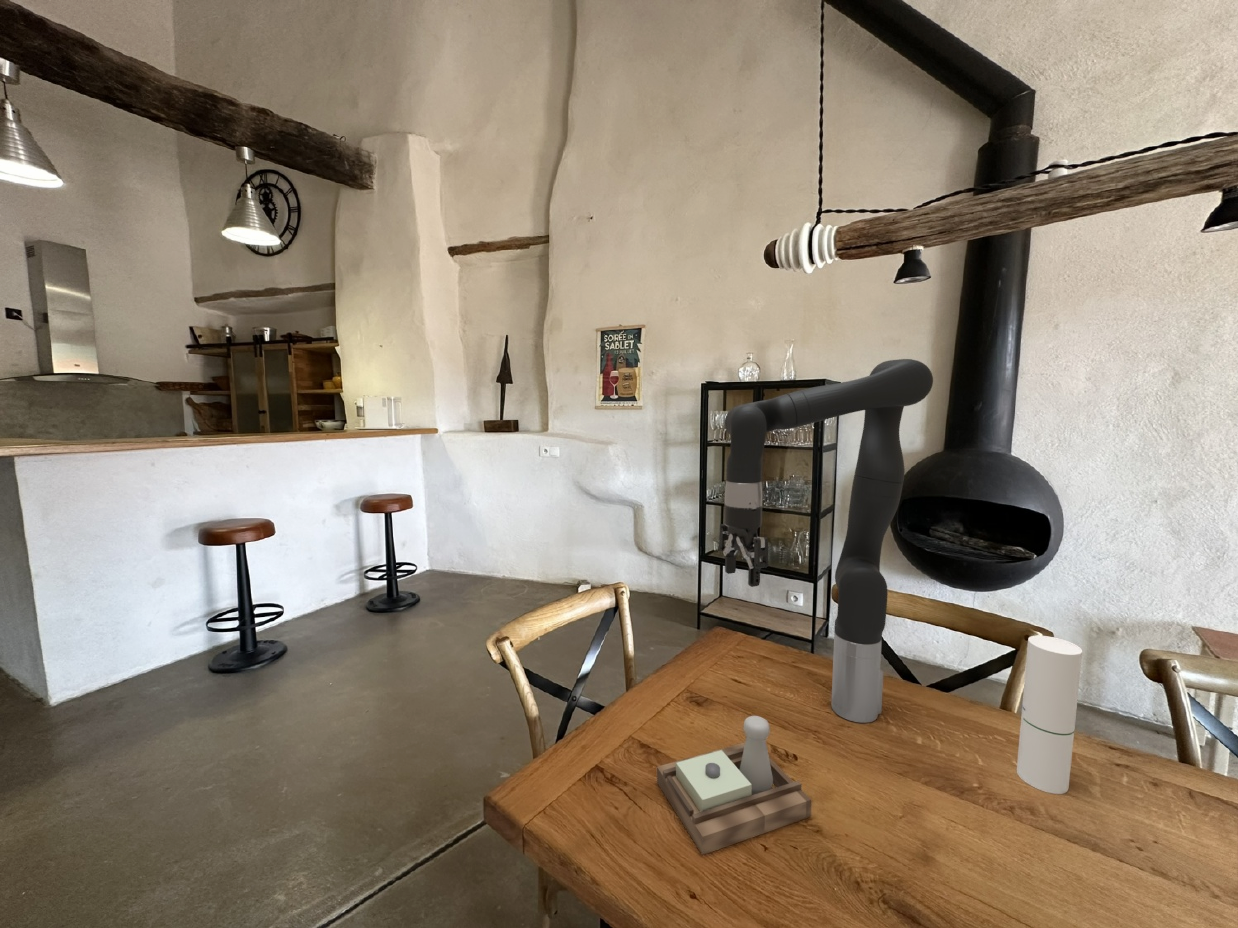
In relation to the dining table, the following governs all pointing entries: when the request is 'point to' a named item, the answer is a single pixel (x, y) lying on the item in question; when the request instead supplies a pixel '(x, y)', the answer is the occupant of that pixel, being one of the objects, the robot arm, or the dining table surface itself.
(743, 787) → the cover
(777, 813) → the board
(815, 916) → the dining table surface
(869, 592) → the robot arm
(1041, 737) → the cylindrical container
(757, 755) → the salt shaker
